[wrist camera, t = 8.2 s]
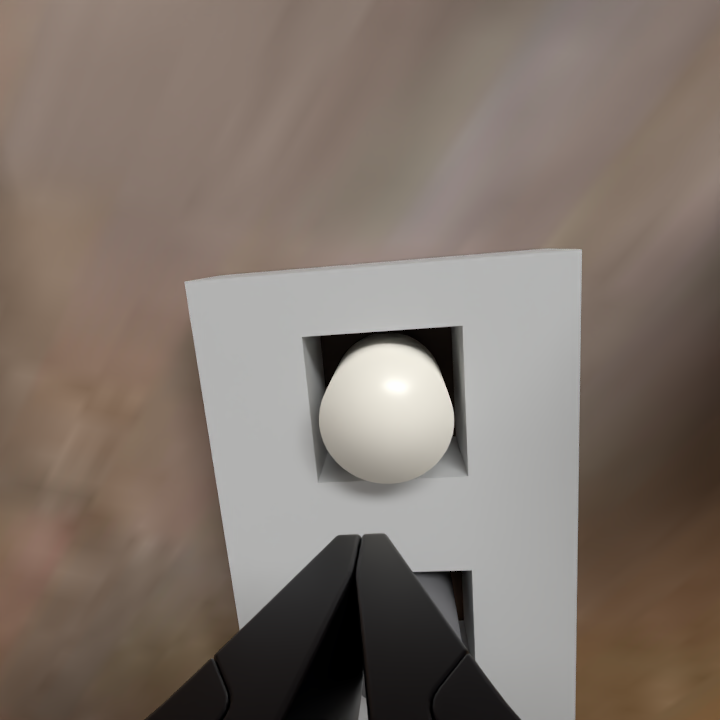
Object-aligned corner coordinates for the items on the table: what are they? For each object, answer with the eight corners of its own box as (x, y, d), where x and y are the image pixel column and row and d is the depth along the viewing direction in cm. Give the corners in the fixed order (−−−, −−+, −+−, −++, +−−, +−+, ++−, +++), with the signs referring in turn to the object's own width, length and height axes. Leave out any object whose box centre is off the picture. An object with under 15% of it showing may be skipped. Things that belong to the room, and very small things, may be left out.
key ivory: (439, 328, 18) (451, 351, 14) (444, 432, 19) (456, 480, 15) (330, 336, 18) (312, 360, 14) (340, 437, 19) (325, 486, 15)
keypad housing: (546, 248, 18) (582, 249, 14) (546, 809, 23) (572, 904, 20) (222, 275, 19) (184, 281, 15) (297, 806, 25) (282, 896, 21)
